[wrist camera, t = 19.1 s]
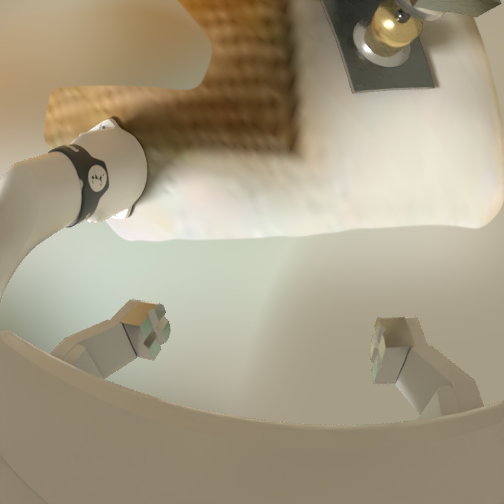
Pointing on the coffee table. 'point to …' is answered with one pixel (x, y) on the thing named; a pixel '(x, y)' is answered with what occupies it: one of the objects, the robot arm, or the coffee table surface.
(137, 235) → the coffee table surface
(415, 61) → the press
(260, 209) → the coffee table surface
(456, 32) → the coffee table surface
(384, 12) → the bottle
